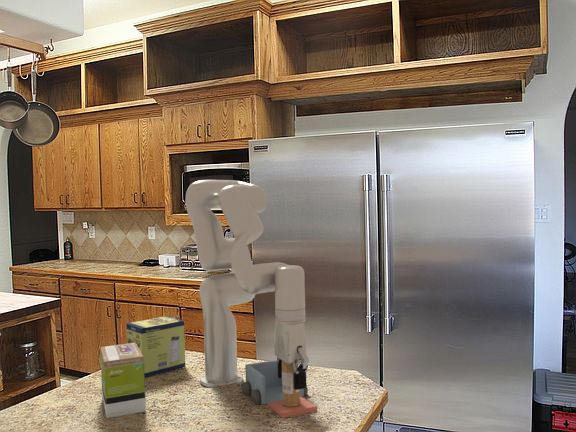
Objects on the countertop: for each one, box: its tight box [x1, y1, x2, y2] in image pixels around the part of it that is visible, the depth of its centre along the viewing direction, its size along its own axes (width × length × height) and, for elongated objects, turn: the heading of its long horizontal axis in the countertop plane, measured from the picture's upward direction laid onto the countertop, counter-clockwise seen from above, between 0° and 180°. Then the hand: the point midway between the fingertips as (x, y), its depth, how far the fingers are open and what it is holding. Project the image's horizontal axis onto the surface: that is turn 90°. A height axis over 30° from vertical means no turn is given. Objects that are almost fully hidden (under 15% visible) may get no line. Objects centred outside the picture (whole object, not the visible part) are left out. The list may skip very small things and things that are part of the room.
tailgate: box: [267, 397, 318, 419], centre depth 134 cm, size 1×9×9 cm
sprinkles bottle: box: [281, 359, 301, 407], centre depth 134 cm, size 5×5×13 cm
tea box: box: [99, 342, 147, 419], centre depth 140 cm, size 15×10×15 cm
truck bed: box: [241, 359, 309, 406], centre depth 144 cm, size 12×15×8 cm
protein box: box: [125, 315, 186, 379], centre depth 170 cm, size 10×16×16 cm
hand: (291, 382), depth 133 cm, fingers open, 9 cm apart
